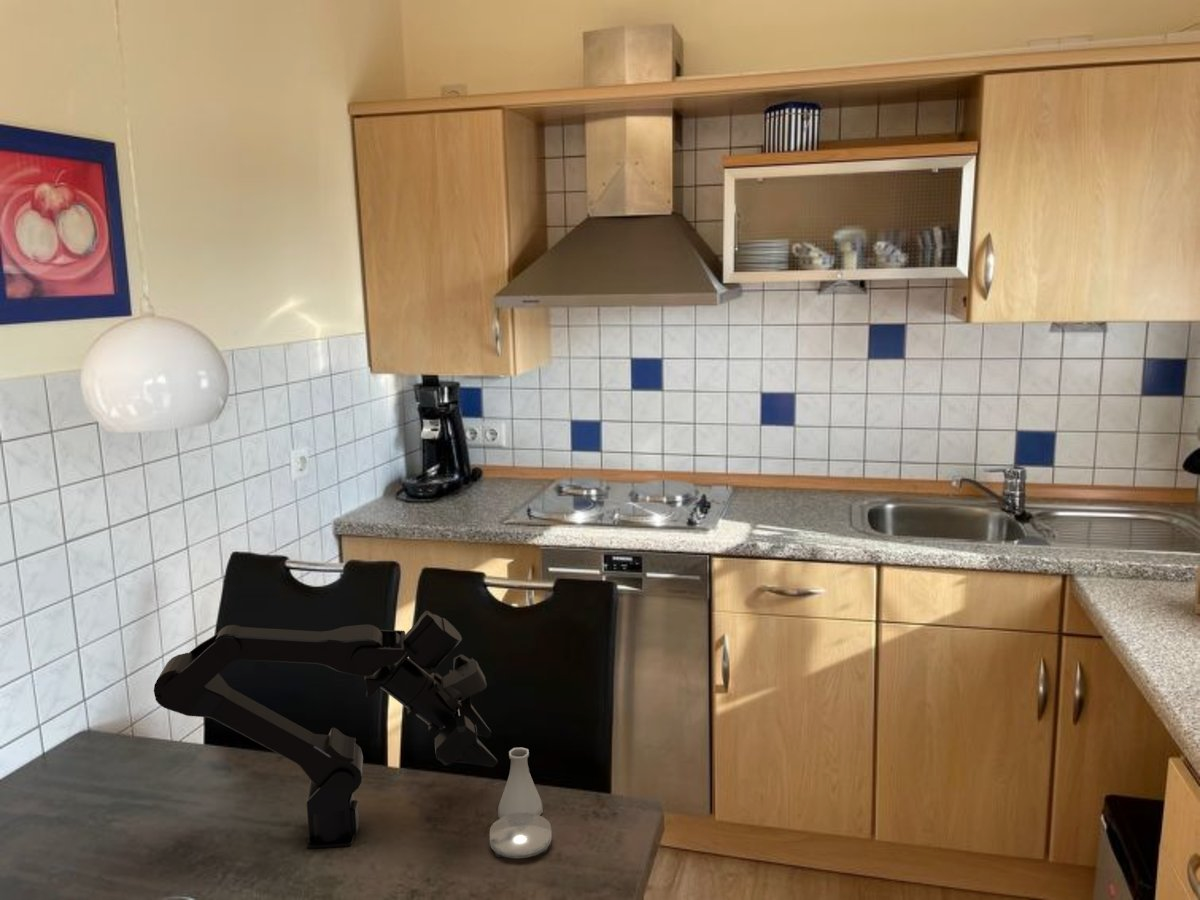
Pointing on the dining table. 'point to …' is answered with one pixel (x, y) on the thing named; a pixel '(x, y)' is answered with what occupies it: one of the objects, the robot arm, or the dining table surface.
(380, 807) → the dining table surface
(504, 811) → the flask
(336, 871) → the dining table surface
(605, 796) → the dining table surface
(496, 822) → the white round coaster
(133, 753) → the dining table surface
